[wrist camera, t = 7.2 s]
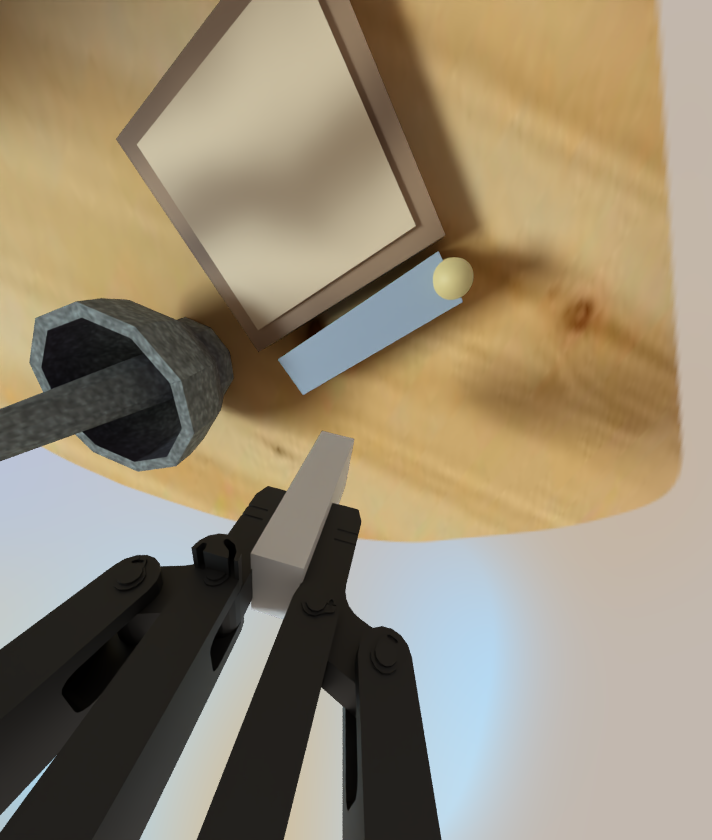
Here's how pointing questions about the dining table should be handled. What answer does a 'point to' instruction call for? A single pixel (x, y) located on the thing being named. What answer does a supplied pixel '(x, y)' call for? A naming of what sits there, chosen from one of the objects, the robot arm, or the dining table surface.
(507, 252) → the dining table surface
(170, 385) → the mortar and pestle
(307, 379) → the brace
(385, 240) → the stand
